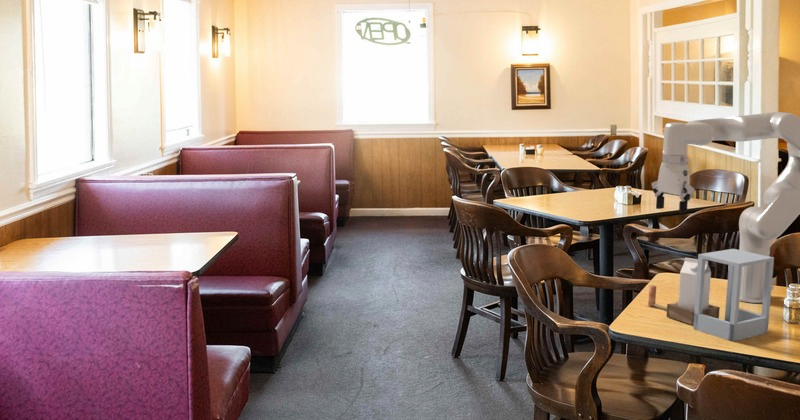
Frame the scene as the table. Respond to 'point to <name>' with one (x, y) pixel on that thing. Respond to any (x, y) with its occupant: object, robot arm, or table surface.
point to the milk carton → (692, 285)
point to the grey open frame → (734, 297)
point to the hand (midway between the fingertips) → (671, 210)
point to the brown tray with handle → (681, 309)
